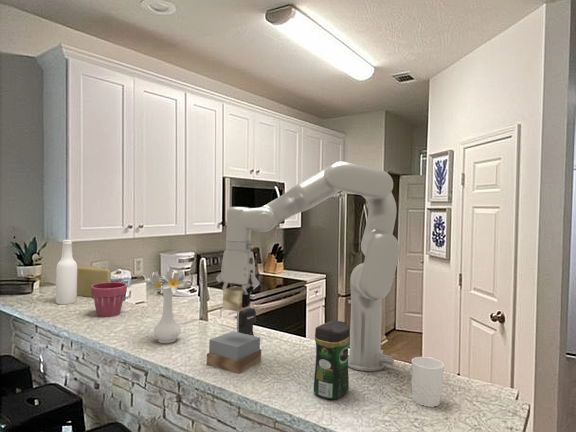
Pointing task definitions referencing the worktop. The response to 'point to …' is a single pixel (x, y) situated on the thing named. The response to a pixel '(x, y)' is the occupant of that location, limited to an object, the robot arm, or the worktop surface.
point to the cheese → (90, 279)
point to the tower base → (233, 362)
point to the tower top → (234, 345)
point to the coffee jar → (331, 360)
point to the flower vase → (166, 304)
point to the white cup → (427, 381)
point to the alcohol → (66, 276)
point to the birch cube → (233, 299)
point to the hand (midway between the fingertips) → (236, 304)
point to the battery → (246, 321)
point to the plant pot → (108, 298)
